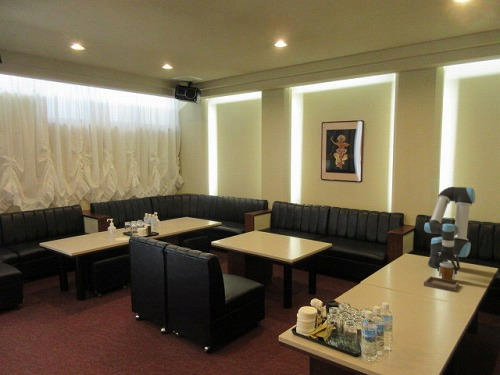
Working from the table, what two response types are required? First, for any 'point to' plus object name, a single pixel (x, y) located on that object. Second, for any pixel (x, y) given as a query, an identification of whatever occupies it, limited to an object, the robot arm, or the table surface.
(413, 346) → the table surface
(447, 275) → the disposable coffee cup
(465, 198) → the robot arm
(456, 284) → the walnut tray
